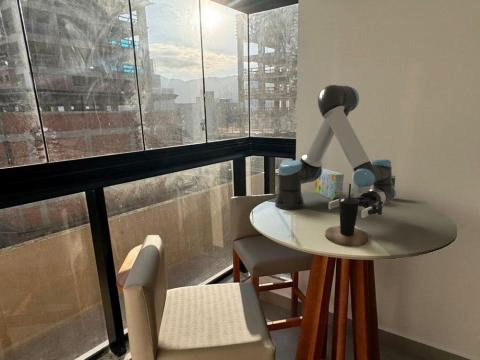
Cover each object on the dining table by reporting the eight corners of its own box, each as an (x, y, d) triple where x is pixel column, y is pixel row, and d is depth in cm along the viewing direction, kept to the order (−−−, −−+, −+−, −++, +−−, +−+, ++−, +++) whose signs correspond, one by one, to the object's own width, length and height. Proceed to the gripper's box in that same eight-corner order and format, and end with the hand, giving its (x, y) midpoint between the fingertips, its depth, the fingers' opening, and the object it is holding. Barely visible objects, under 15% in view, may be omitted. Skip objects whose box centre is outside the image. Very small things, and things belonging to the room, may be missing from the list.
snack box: (342, 200, 164) (344, 173, 161) (334, 201, 162) (335, 174, 159) (322, 191, 184) (323, 167, 181) (314, 192, 182) (315, 168, 179)
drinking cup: (354, 230, 117) (357, 181, 113) (359, 237, 110) (363, 186, 106) (334, 229, 118) (337, 181, 114) (339, 237, 111) (342, 186, 106)
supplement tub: (372, 199, 164) (374, 174, 161) (364, 203, 157) (366, 176, 154) (355, 196, 171) (357, 171, 167) (347, 200, 164) (349, 174, 161)
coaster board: (329, 245, 107) (330, 241, 107) (321, 229, 123) (321, 225, 122) (375, 246, 106) (375, 242, 105) (361, 229, 121) (361, 226, 121)
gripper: (402, 214, 115) (377, 228, 102) (344, 201, 134) (317, 211, 121) (404, 196, 113) (378, 207, 100) (345, 185, 132) (317, 193, 119)
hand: (345, 209), depth 110 cm, fingers open, 13 cm apart
